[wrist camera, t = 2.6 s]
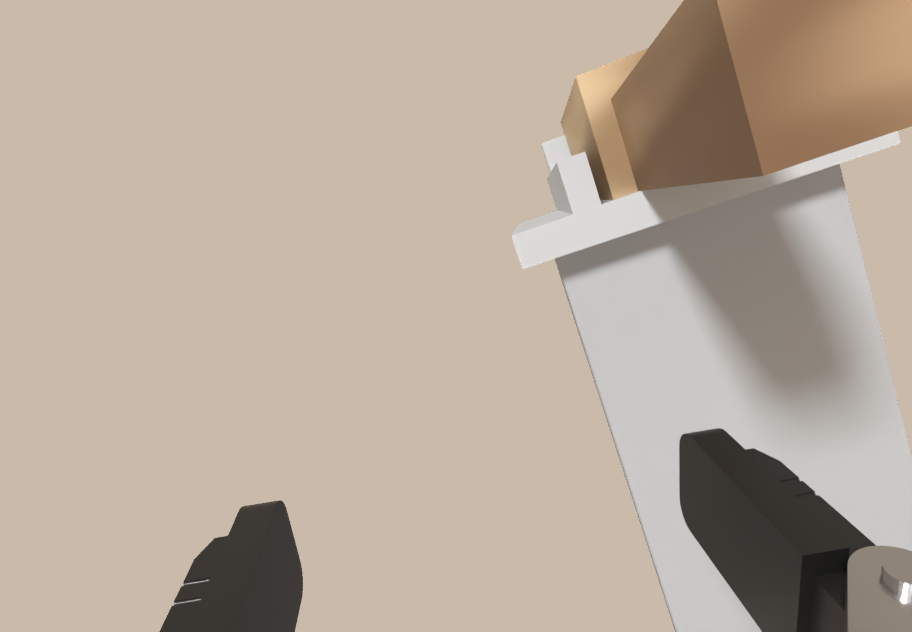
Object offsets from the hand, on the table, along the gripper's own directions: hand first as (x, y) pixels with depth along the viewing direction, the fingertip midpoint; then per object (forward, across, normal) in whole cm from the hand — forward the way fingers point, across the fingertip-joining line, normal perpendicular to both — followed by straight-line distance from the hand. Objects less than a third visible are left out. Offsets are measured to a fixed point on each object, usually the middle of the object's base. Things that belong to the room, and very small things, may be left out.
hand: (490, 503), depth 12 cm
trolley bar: (+6, +7, +5) cm, 10 cm away
